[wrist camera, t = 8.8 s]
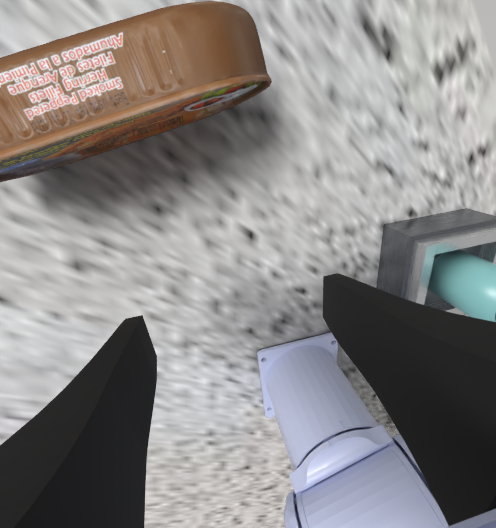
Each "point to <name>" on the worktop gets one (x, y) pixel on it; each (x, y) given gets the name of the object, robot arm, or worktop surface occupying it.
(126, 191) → the worktop surface
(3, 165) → the tin
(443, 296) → the teal capped cylinder
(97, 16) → the worktop surface
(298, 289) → the worktop surface
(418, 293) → the grey flat square block
